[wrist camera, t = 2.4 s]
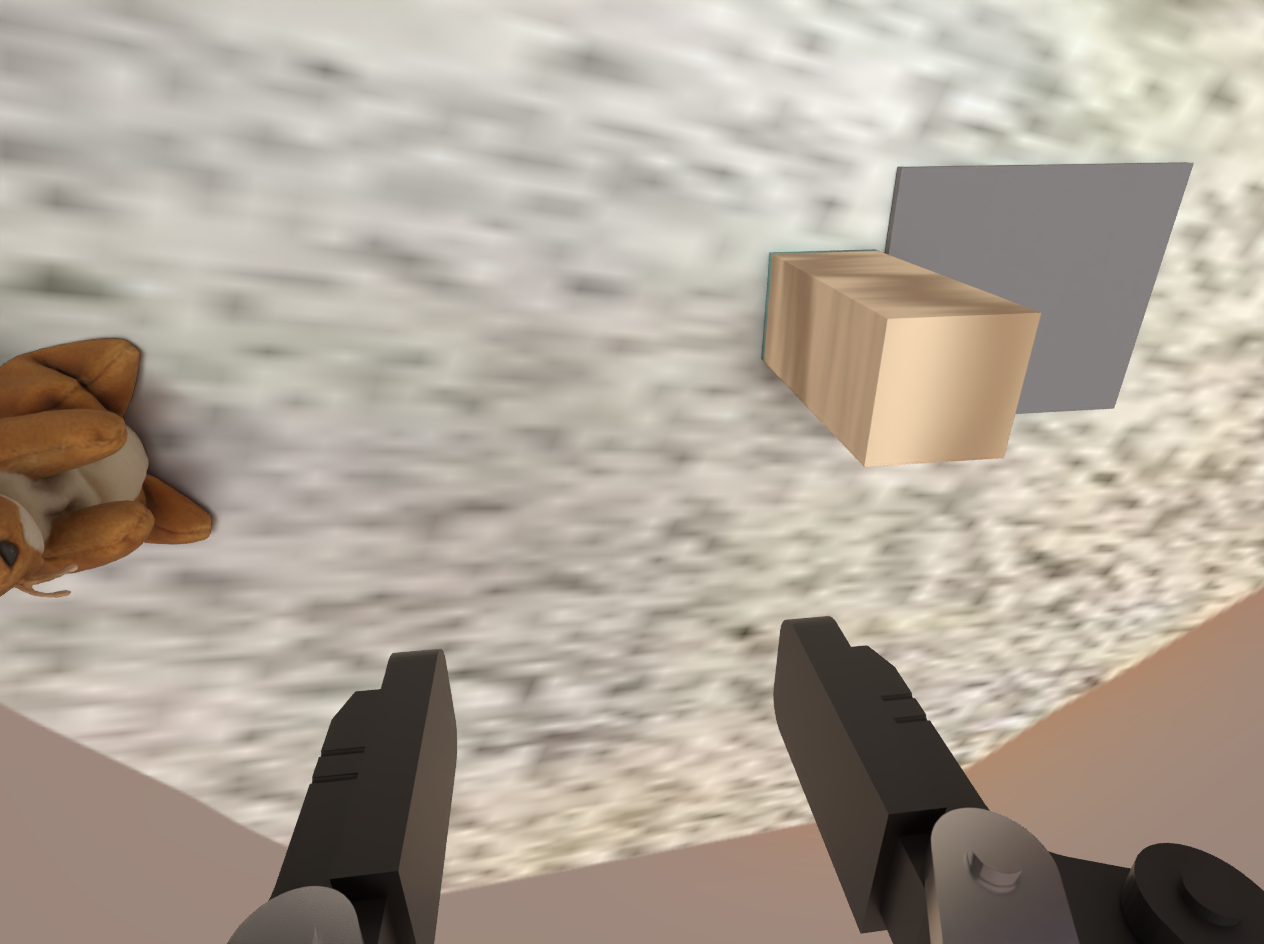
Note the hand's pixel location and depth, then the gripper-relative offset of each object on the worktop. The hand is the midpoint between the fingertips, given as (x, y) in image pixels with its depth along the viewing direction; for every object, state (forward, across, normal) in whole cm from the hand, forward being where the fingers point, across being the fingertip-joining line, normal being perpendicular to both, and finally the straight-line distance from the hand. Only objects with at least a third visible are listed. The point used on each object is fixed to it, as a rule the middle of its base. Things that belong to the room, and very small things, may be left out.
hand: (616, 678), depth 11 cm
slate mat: (+23, -22, 0) cm, 32 cm away
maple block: (+23, -12, 0) cm, 26 cm away
